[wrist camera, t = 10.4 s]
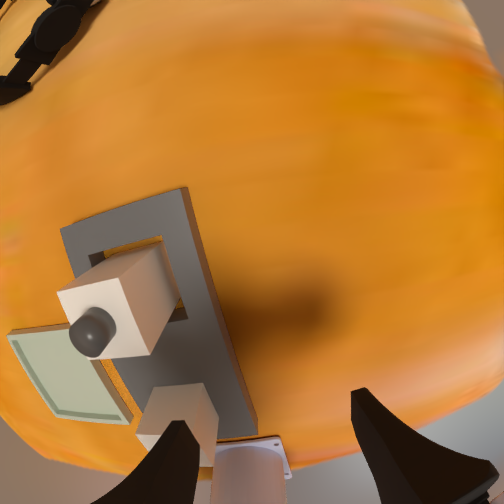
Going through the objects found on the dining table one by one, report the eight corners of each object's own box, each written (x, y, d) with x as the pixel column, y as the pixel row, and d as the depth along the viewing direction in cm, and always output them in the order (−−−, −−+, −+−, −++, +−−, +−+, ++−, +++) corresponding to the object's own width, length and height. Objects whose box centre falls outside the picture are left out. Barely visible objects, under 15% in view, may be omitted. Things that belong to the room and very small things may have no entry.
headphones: (137, -87, 4) (-45, 151, 10) (175, -33, 12) (20, 143, 17) (59, -95, 1) (-62, 58, 6) (92, -69, 8) (-18, 61, 14)
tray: (133, 416, 22) (130, 424, 21) (60, 410, 23) (55, 417, 22) (80, 321, 19) (73, 328, 18) (12, 330, 20) (6, 335, 19)
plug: (180, 296, 19) (139, 375, 11) (131, 305, 19) (74, 377, 11) (163, 240, 18) (101, 291, 10) (113, 254, 18) (38, 304, 10)
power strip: (257, 418, 22) (260, 498, 14) (166, 426, 22) (146, 496, 14) (187, 187, 17) (133, 197, 9) (75, 223, 17) (-9, 255, 9)
